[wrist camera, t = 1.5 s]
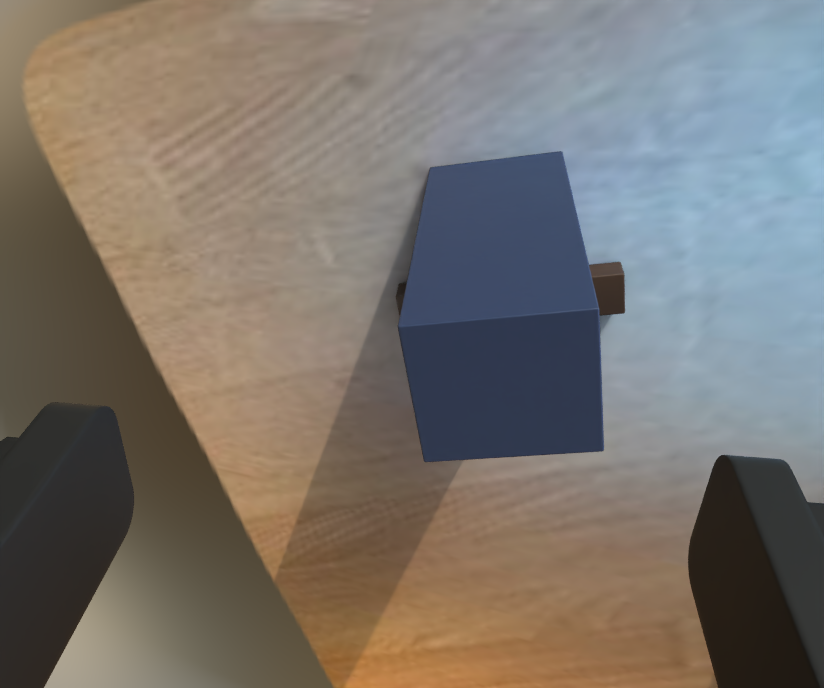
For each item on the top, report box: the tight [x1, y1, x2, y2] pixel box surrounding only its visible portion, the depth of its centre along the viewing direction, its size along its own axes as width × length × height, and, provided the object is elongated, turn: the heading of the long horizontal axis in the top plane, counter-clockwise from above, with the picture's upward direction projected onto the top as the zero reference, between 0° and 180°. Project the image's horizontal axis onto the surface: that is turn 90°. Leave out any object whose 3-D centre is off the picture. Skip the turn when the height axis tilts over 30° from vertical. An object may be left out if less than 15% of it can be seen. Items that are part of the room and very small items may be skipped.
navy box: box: [398, 151, 604, 462], centre depth 28 cm, size 5×6×13 cm
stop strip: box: [396, 262, 625, 315], centre depth 34 cm, size 2×10×1 cm, turn 99°
